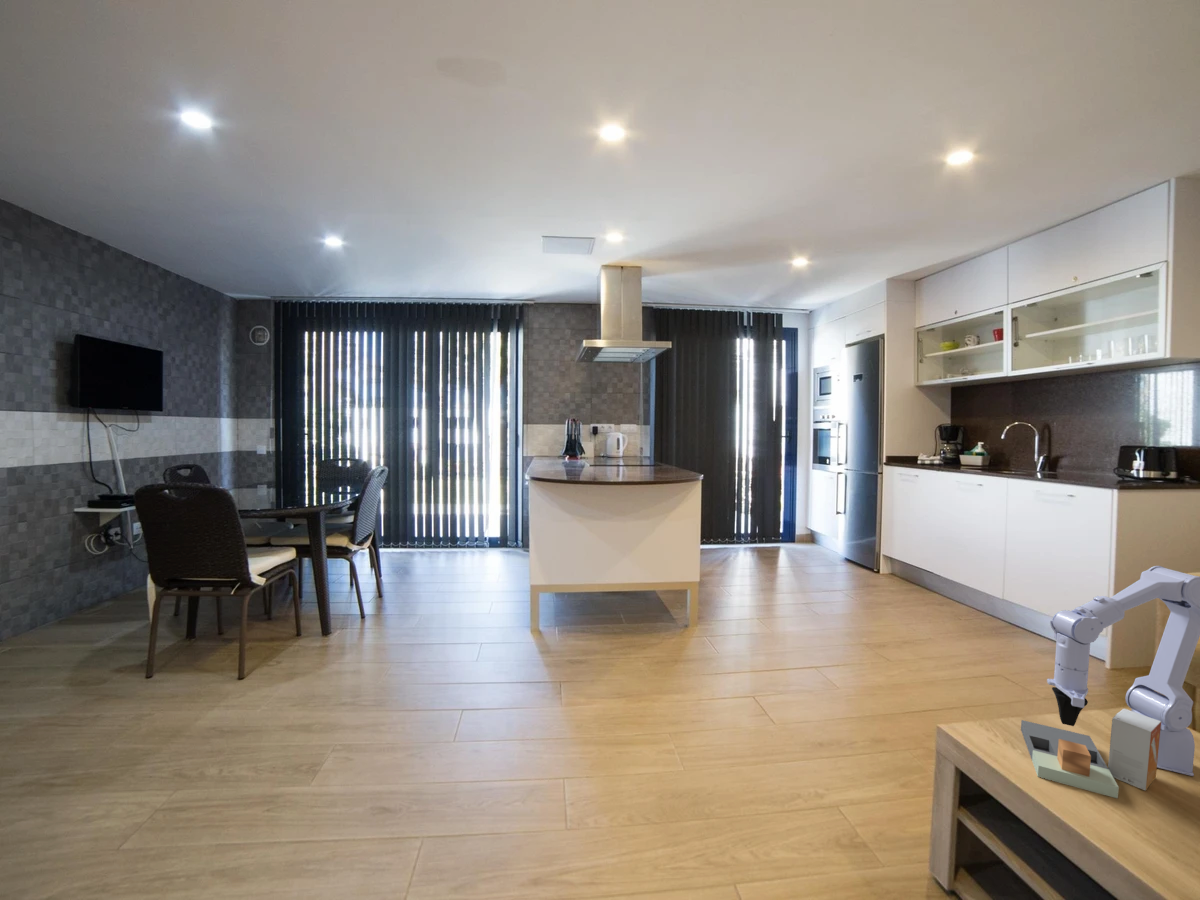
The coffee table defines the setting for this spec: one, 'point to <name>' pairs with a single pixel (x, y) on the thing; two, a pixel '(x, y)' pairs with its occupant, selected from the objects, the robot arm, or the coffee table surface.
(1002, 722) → the coffee table surface
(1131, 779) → the small box
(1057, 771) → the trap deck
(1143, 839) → the coffee table surface
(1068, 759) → the orange block
